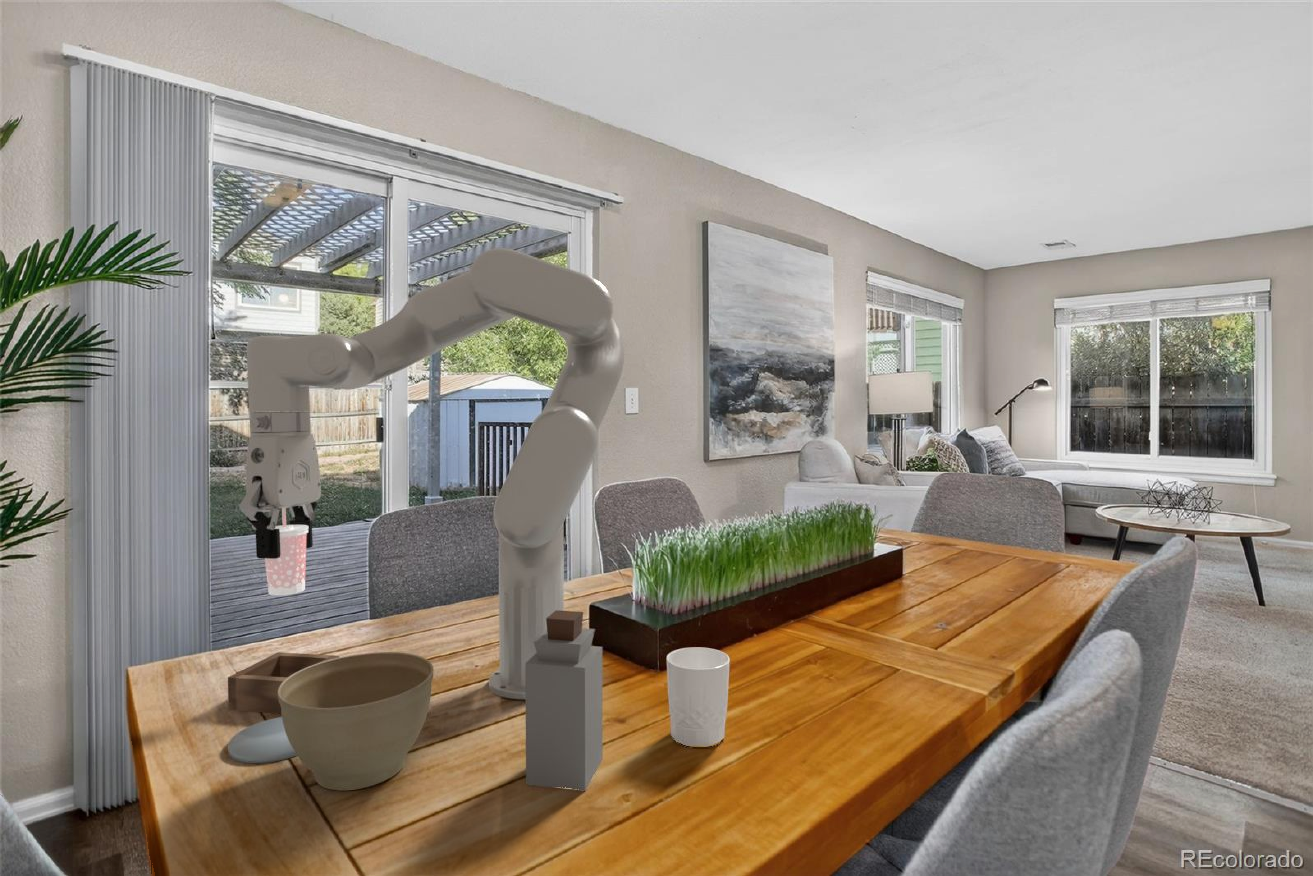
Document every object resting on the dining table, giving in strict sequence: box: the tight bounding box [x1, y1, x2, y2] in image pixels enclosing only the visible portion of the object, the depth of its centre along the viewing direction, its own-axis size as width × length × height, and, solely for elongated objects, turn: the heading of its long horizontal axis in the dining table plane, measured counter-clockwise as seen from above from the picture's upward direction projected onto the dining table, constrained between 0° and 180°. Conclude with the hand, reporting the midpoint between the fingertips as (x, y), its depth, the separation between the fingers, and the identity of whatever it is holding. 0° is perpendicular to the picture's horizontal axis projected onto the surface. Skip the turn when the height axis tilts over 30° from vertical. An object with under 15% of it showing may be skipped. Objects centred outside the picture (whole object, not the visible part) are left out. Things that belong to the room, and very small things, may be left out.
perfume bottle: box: [525, 610, 604, 792], centre depth 79 cm, size 7×7×18 cm
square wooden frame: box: [227, 651, 340, 715], centre depth 100 cm, size 10×10×4 cm
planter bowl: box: [278, 651, 434, 791], centre depth 80 cm, size 16×16×11 cm
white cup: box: [666, 646, 730, 747], centre depth 88 cm, size 8×8×10 cm
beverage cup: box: [264, 508, 309, 596], centre depth 99 cm, size 6×6×14 cm
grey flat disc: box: [227, 716, 298, 764], centre depth 87 cm, size 11×11×1 cm
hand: (285, 551), depth 99 cm, fingers closed on beverage cup, 6 cm apart
